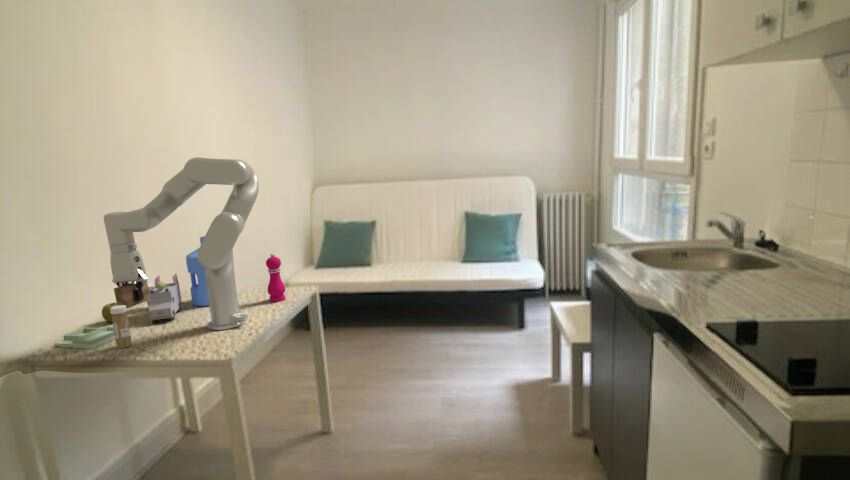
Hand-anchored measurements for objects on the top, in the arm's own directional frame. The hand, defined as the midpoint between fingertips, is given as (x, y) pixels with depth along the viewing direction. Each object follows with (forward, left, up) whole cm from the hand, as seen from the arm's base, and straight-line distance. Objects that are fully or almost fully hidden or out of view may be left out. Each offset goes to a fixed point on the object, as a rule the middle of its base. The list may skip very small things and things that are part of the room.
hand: (133, 299), depth 172 cm
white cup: (+21, -31, -13) cm, 39 cm away
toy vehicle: (+7, -21, -13) cm, 25 cm away
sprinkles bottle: (-3, +9, -13) cm, 16 cm away
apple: (+24, -13, -13) cm, 30 cm away
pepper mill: (-27, -45, -13) cm, 54 cm away
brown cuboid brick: (0, 0, -1) cm, 1 cm away
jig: (+14, +5, -13) cm, 20 cm away
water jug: (+2, -41, -13) cm, 43 cm away
